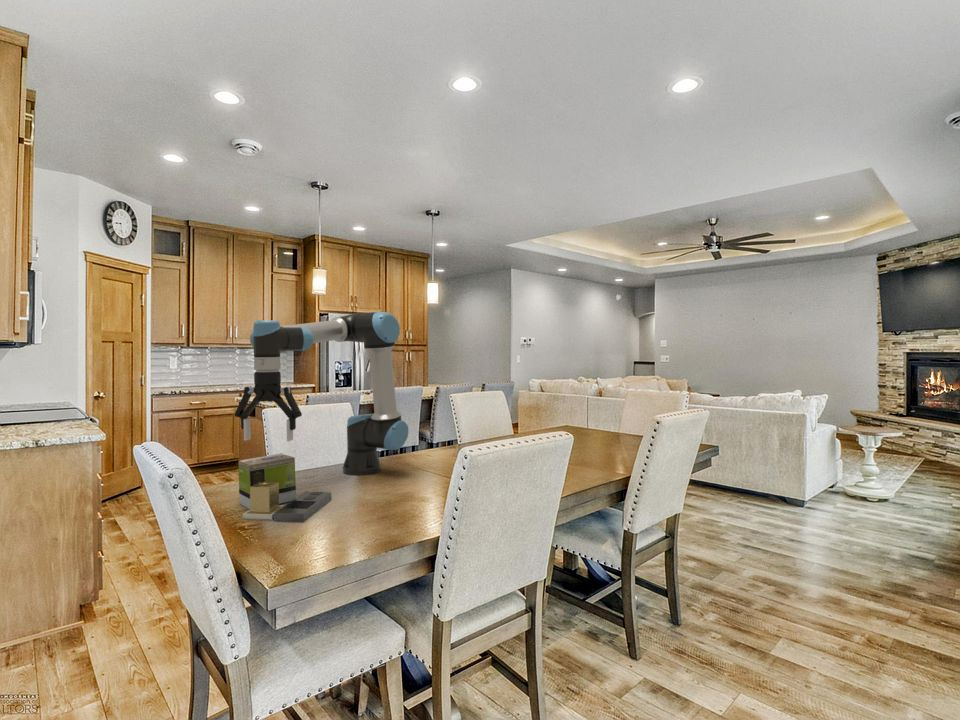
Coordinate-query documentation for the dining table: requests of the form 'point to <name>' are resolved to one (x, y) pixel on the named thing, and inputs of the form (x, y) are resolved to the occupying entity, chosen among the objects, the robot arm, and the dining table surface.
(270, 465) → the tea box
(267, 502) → the brass rectangular block
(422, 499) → the dining table surface
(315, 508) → the rail
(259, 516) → the tray
